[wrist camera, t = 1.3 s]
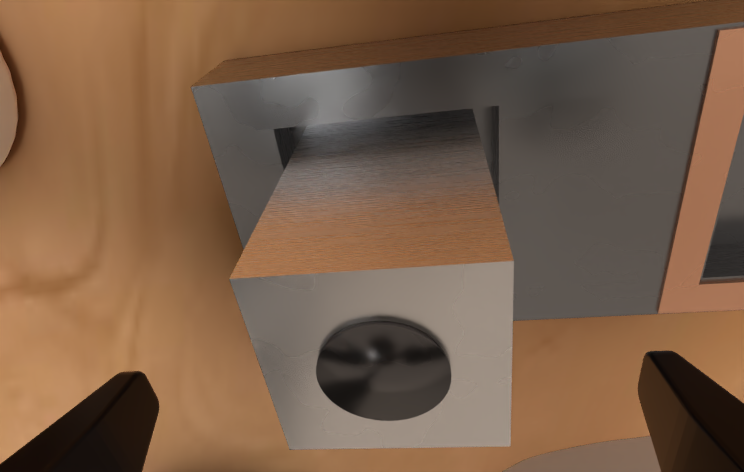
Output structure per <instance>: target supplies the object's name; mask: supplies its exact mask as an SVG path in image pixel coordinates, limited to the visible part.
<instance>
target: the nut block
mask: <svg viewBox="0 0 744 472" xmlns="http://www.w3.org/2000/svg"><path fill="white" fill-rule="evenodd" d="M229 280H230V283H231V285H232V288H233V291H234V294H235V297H236V299H237V302H238V305H239V308H240V311H241V314H242V316H243V319H244V322H245V325H246V328H247V330H248V333H249V336H250V339H251V342H252V345H253V347H254V350H255V353H256V356H257V359H258V361H259V364H260V367H261V370H262V373H263V376H264V378H265V381H266V384H267V387H268V390H269V392H270V395H271V398H272V401H273V404H274V407H275V409H276V412H277V415H278V418H279V421H280V423H281V426H282V429H283V432H284V435H285V438H286V440H287V443H288V446H289V449H290V450H302V449H369V448H436V447H503V446H511V392H512V337H513V283H514V259H513V256H512V252H511V248H510V245H509V241H508V237H507V234H506V230H505V226H504V223H503V219H502V215H501V212H500V208H499V204H498V201H497V197H496V193H495V190H494V186H493V182H492V179H491V175H490V171H489V168H488V164H487V160H486V157H485V153H484V149H483V145H482V142H481V138H480V134H479V131H478V127H477V123H476V120H475V116H474V112H473V109H472V108H471V109H461V110H452V111H442V112H433V113H423V114H413V115H404V116H394V117H384V118H375V119H365V120H355V121H346V122H336V123H326V124H317V125H307V127H306V129H305V131H304V133H303V135H302V137H301V139H300V141H299V143H298V145H297V146H296V148H295V150H294V152H293V154H292V156H291V158H290V160H289V162H288V164H287V166H286V168H285V170H284V172H283V174H282V176H281V178H280V180H279V182H278V184H277V186H276V188H275V190H274V192H273V194H272V196H271V198H270V200H269V202H268V204H267V205H266V207H265V209H264V211H263V213H262V215H261V217H260V219H259V221H258V223H257V225H256V227H255V229H254V231H253V233H252V235H251V237H250V239H249V241H248V243H247V245H246V247H245V249H244V251H243V253H242V255H241V257H240V259H239V261H238V263H237V264H236V266H235V268H234V270H233V272H232V274H231V276H230V278H229Z"/></svg>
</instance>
